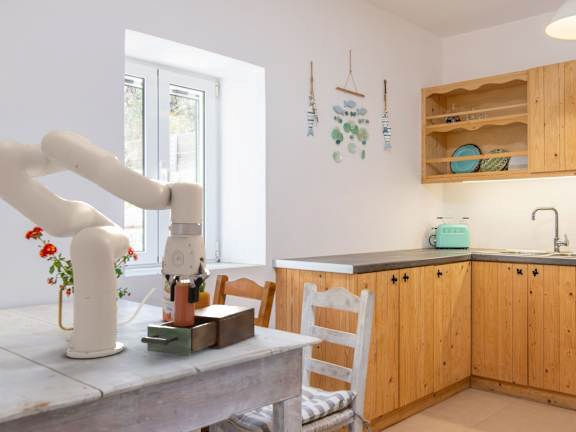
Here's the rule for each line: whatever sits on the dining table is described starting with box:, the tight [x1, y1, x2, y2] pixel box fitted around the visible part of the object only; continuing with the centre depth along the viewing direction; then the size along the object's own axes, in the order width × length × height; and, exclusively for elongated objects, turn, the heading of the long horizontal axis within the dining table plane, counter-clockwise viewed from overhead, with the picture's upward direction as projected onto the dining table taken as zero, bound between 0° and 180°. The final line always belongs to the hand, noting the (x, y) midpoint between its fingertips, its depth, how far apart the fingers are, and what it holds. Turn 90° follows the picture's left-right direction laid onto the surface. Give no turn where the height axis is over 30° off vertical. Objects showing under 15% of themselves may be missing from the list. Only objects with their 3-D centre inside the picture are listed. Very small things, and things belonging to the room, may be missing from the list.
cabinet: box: [195, 304, 256, 350], centre depth 146 cm, size 16×14×8 cm
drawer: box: [140, 318, 218, 357], centre depth 133 cm, size 19×12×6 cm, turn 160°
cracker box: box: [161, 256, 196, 322], centre depth 168 cm, size 14×6×21 cm, turn 42°
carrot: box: [195, 280, 211, 310], centre depth 159 cm, size 5×5×15 cm
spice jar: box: [173, 280, 195, 326], centre depth 135 cm, size 5×5×11 cm
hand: (184, 300), depth 135 cm, fingers closed on spice jar, 5 cm apart
